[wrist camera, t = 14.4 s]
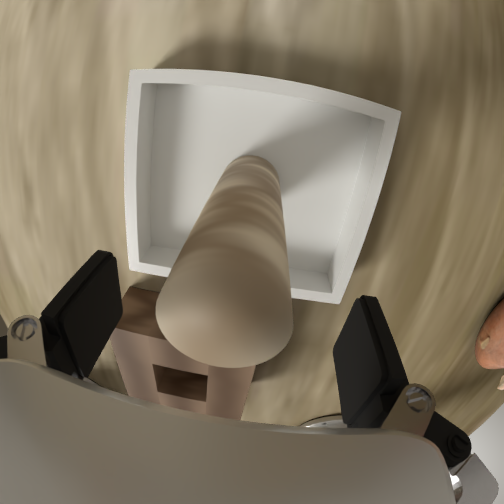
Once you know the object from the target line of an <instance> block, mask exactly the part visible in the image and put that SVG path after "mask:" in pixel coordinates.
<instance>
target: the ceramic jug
mask: <svg viewBox="0 0 504 504" xmlns="http://www.w3.org/2000/svg"><path fill="white" fill-rule="evenodd" d="M475 355H476V359H477V361H478V363H479V364H480V365H481V366H482V367H484V368H487V369H499V368H504V299H503V300H502V301H501V302H500V303H499V304H498V305H497V306H496V307H495V308H494V310H493V311H492V312H491V313H490V315H489V316H488V318H487V319H486V321H485V322H484V324H483V326H482V327H481V329H480V331H479V334H478V336H477V339H476V344H475ZM497 388H498V389H500V390H504V375H503V376H502V378H501V380H500V383H499V385H498V387H497Z"/></svg>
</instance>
